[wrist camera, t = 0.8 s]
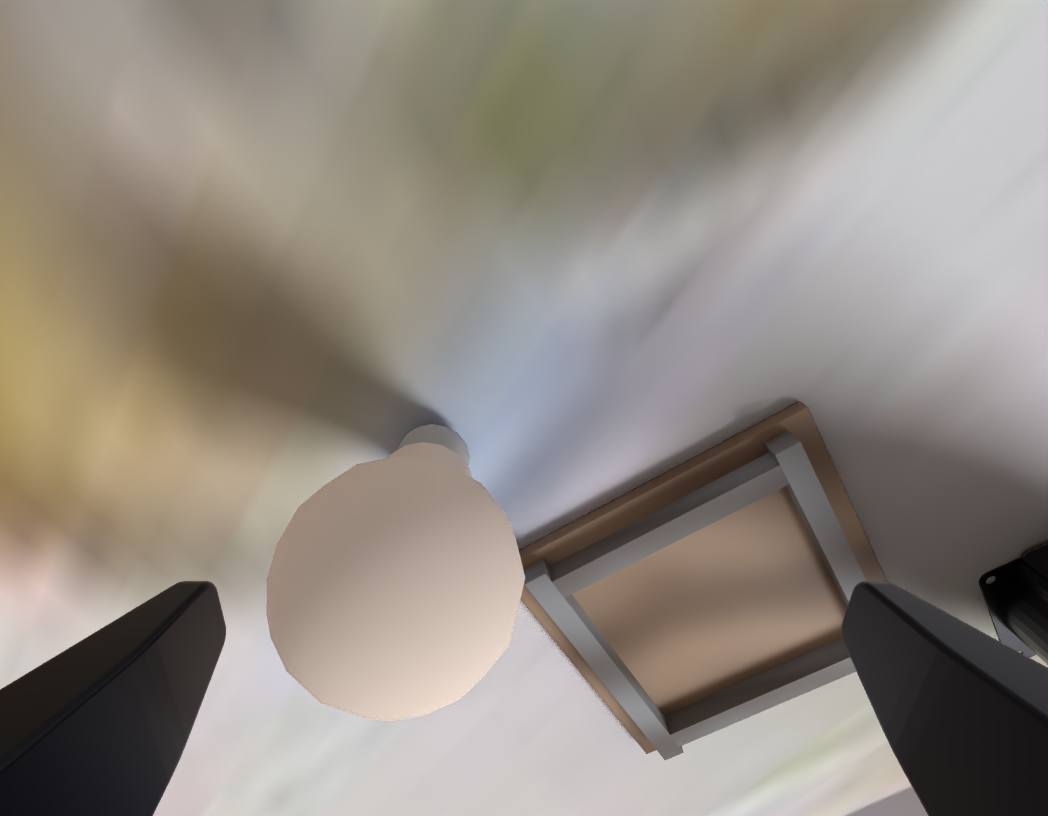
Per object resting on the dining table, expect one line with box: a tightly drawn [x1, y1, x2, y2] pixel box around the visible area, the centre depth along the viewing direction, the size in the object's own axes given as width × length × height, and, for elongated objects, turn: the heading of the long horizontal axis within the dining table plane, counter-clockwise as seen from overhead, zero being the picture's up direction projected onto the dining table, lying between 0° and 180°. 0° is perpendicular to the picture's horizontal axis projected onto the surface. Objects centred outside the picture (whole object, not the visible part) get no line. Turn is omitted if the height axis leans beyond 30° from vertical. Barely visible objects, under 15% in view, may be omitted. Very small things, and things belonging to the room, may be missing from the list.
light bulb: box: [267, 424, 525, 722], centre depth 17 cm, size 7×7×11 cm
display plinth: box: [519, 401, 887, 760], centre depth 24 cm, size 14×14×2 cm
